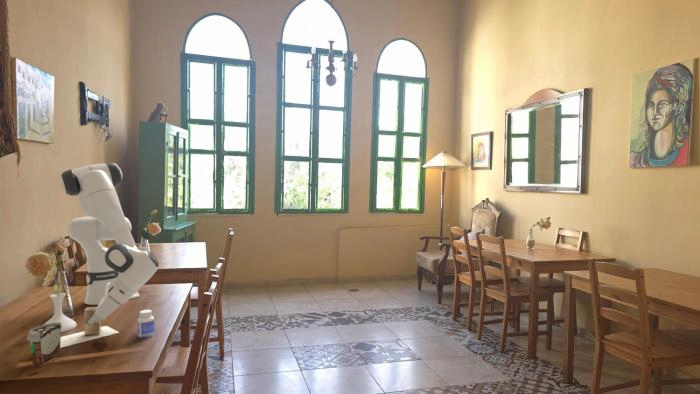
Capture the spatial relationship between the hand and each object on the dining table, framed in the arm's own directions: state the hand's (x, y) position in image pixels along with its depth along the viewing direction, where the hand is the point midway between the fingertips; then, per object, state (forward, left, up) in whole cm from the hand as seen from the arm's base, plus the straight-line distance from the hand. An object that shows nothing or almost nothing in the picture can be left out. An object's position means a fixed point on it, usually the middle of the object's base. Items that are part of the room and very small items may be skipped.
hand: (90, 320), depth 160 cm
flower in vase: (+6, -15, -6) cm, 17 cm away
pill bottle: (-12, +16, -6) cm, 21 cm away
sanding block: (0, 0, -5) cm, 5 cm away
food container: (+18, +9, -6) cm, 21 cm away
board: (+3, 0, -6) cm, 7 cm away
